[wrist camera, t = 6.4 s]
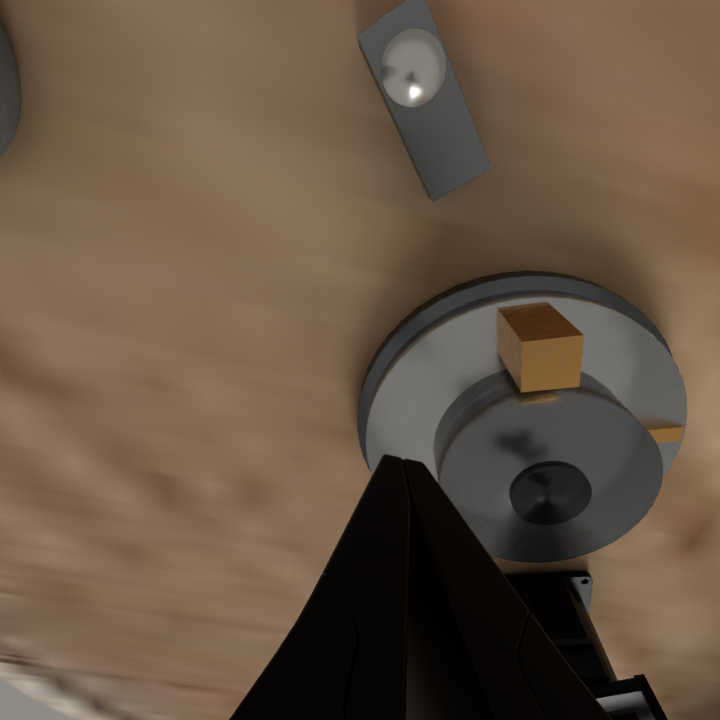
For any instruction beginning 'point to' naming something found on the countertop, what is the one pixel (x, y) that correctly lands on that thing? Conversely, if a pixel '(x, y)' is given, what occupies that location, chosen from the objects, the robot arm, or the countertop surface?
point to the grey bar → (424, 97)
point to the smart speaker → (8, 93)
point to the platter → (523, 367)
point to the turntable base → (475, 292)
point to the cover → (545, 467)
